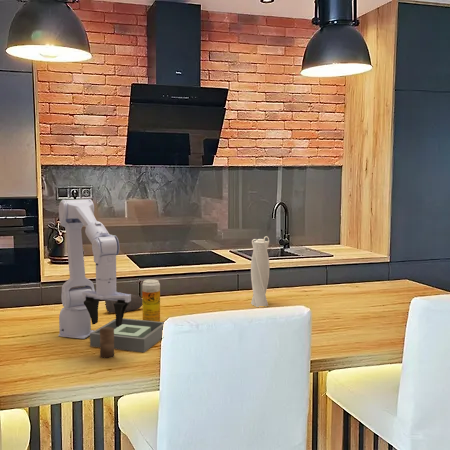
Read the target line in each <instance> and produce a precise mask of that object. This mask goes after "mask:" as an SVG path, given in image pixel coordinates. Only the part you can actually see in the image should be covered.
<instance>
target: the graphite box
mask: <svg viewBox="0 0 450 450" xmlns="http://www.w3.org/2000/svg"><path fill="white" fill-rule="evenodd" d="M164 322H165V321H160V322H157V321H146V320H143V319H134V318H124V317H123V320H122V324H126V325H136V326H146V327H151V332H150V333H149V334H147V335H146V336H145V337H143V338H138V337H129V336H119V335H114V350H121V351H128V352H137V353H146V352H147V351H148V350H150V349H151V348H153V346H154V345H156V344H157V343H158V342H159V341H161V340H162V339H163V338H162V330H163V324H164ZM104 327H111V328H114V329H116V328H117V327H116V318H114V319H113V320H111V321H108V323H106V324H104V325H102V326H100V327H99V328H97V329H95V331H93V332H92V333H90V336H89V346H90V347H95V348H100V329H101V328H104ZM161 338H162V339H161Z"/></svg>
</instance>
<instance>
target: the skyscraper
mask: <svg viewBox="0 0 450 450" xmlns="http://www.w3.org/2000/svg"><path fill="white" fill-rule="evenodd" d="M266 238H267V240H266ZM269 244H270V238H269V236H268V235H266V236H264V237H263V238H258V239H257V238H253V239H252V240H251V245H252V246H251V247H252V249H253V250H252V255H251V260H250V261H251V262H250V279H251V288H252V298H251V302H250V305H251V304H252V305H251V306H253V305H254V306H253V307H255V306H256V307H259V306H269V303H268V300H267V296H266V294H267V291H268V290H267V289H268V286H269V285H268V284H269V280H270V279H269V278H270V270H271V269H270V258H269V253H268V248H269ZM256 307H255V308H256ZM259 308H260V307H259Z"/></svg>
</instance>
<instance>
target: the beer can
mask: <svg viewBox="0 0 450 450" xmlns="http://www.w3.org/2000/svg"><path fill="white" fill-rule="evenodd" d="M141 286H142V287H141V288H142V291H141V292H142V295H141V298H142V320H146V321H157V322H161V283H160V280H159V279H158V280H157V279H145V280H143V282H142V284H141Z"/></svg>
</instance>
